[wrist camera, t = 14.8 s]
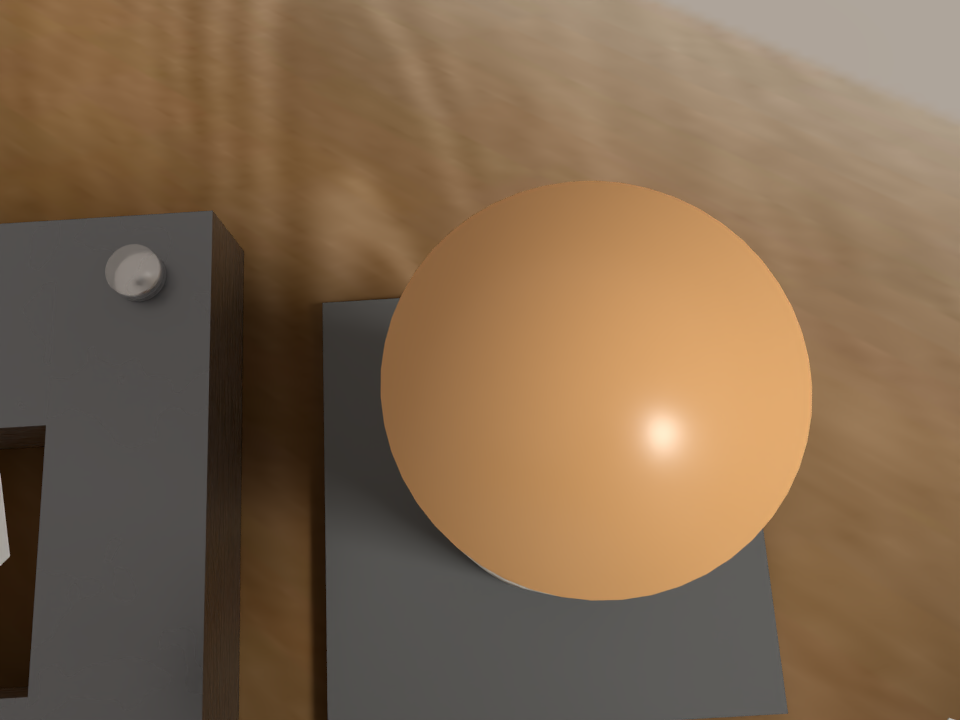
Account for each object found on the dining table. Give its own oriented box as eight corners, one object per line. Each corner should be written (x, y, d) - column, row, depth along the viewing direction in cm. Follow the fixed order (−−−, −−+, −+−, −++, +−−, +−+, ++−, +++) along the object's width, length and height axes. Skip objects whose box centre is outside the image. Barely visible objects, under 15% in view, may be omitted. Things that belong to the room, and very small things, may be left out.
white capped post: (650, 386, 25) (802, 186, 12) (651, 596, 24) (823, 611, 11) (448, 379, 25) (394, 174, 13) (436, 587, 24) (364, 590, 11)
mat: (725, 283, 26) (729, 278, 26) (781, 710, 23) (787, 713, 23) (325, 308, 26) (322, 303, 26) (331, 736, 23) (328, 739, 23)
